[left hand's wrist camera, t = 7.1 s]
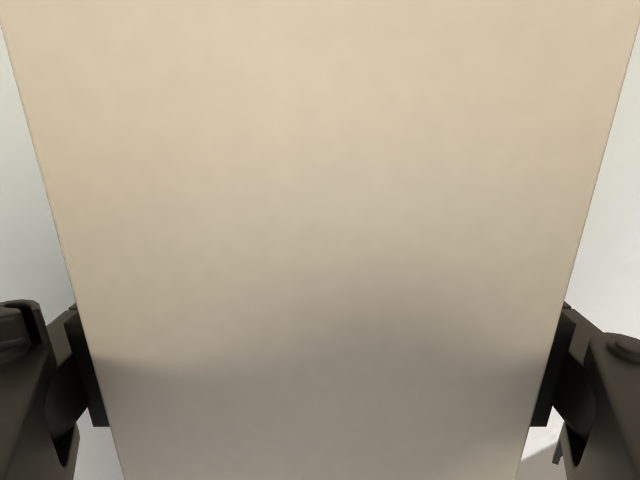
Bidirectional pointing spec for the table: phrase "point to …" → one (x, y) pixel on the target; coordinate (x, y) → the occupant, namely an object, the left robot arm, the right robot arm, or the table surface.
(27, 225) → the table surface
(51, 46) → the wide beam
